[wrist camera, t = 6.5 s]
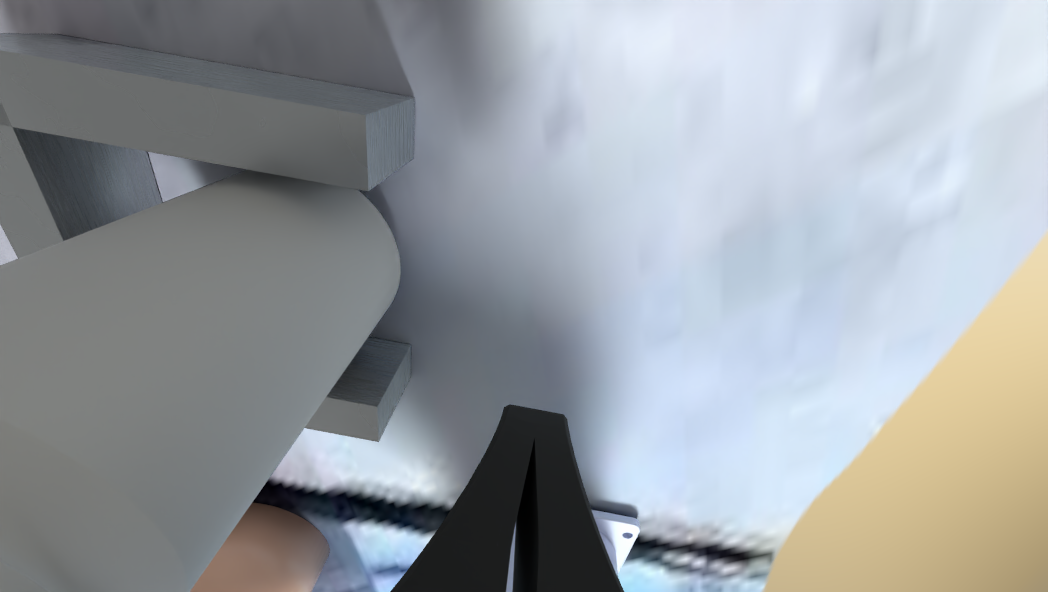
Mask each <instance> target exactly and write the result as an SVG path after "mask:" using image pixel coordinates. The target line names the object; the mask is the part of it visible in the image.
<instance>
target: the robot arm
mask: <svg viewBox="0 0 1048 592" xmlns="http://www.w3.org/2000/svg"><path fill="white" fill-rule="evenodd" d="M639 532H640V522H639V521H638V520H637V519H636V518H633V517H628V516H623V515H617V514H612V513H607V512H602V511H596V510H591V507H590V504H589V501H588V498H587V495H586V492H585V489H584V486H583V483H582V480H581V476H580V473H579V470H578V466H577V462H576V459H575V455H574V451H573V447H572V443H571V438H570V434H569V428H568V422H567V419H566V417H565V416H564V415H563V414H558V413H552V412H547V411H542V410H536V409H531V408H526V407H520V406H515V405H508V406H506V407H504V410H503V414H502V417H501V420H500V422H499V425H498V427H497V430H496V432H495V434H494V436H493V439H492V441H491V443H490V445H489V447H488V449H487V451H486V453H485V455H484V456H483V458H482V460H481V462H480V463H479V465H478V467H477V469H476V470H475V472H474V474H473V476H472V477H471V479H470V481H469V483H468V484H467V486H466V488H465V489H464V491H463V492H462V494H461V495H460V497H459V498H458V500H457V501H456V503H455V504H454V506H453V508H452V509H451V511H450V512H449V514H448V515H447V517H446V518H445V520H444V521H443V523H442V524H441V526H440V527H439V528H438V530H437V531H436V533H435V534H434V536H433V537H432V538H431V540H430V541H429V542H428V544H427V545H426V547H425V548H424V549H423V551H422V552H421V553H420V555H419V556H418V557H417V559H416V560H415V561H414V563H413V564H412V565H411V567H410V568H409V569H408V570H407V572H406V573H405V574H404V576H403V577H402V578H401V579H400V581H399V582H398V583H397V584H396V585H395V587H394V588H393V589H392V590H391V592H624V591H623V588H622V586H621V584H620V581H619V579H618V573H619V571H620V569H621V567H622V565H623V563H624V561H625V559H626V558H627V556H628V554H629V552H630V550H631V548H632V546H633V544H634V542H635V540H636V538H637V536H638V534H639Z"/></svg>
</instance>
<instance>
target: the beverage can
mask: <svg viewBox="0 0 1048 592" xmlns="http://www.w3.org/2000/svg"><path fill="white" fill-rule="evenodd" d="M400 276H401V265H400V256H399V252H398V247H397V244H396V241H395V239H394V236H393V234H392V232H391V230H390V228H389V226H388V224H387V223H386V221H385V220H384V218H383V217H382V215H381V214H380V212H379V211H378V210H377V209H376V207H375V206H374V205H373V204H372V203H371V202H370V201H369V200H368V199H367V198H366V197H365V196H364V195H363V194H362V193H361V192H360V191H358V190H357V189H352V188H347V187H341V186H336V185H330V184H325V183H319V182H314V181H308V180H302V179H297V178H291V177H286V176H280V175H275V174H269V173H264V172H258V171H253V170H246V171H243V172H240V173H238V174H235V175H233V176H230V177H228V178H225V179H222V180H220V181H217V182H215V183H212V184H210V185H207V186H204V187H202V188H199V189H197V190H194V191H191V192H189V193H186V194H184V195H181V196H179V197H176V198H173V199H171V200H168V201H166V202H163V203H160V204H158V205H155V206H153V207H150V208H148V209H145V210H142V211H140V212H137V213H135V214H132V215H130V216H127V217H124V218H122V219H119V220H117V221H114V222H111V223H109V224H106V225H104V226H101V227H99V228H96V229H93V230H91V231H88V232H86V233H83V234H80V235H78V236H75V237H73V238H70V239H68V240H65V241H62V242H60V243H57V244H55V245H52V246H50V247H47V248H44V249H42V250H39V251H37V252H34V253H31V254H29V255H26V256H24V257H21V258H19V259H16V260H13V261H11V262H8V263H6V264H3V265H0V592H190V591H191V589H192V588H193V586H194V585H195V583H196V582H197V581H198V579H199V578H200V576H201V575H202V573H203V572H204V571H205V569H206V568H207V566H208V565H209V563H210V562H211V561H212V559H213V558H214V556H215V555H216V554H217V552H218V551H219V549H220V548H221V546H222V545H223V544H224V542H225V541H226V539H227V538H228V536H229V535H230V534H231V532H232V531H233V529H234V528H235V526H236V525H237V524H238V522H239V521H240V519H241V518H242V516H243V515H244V514H245V512H246V511H247V509H248V508H249V506H250V505H251V504H252V502H253V501H254V499H255V498H256V496H257V495H258V494H259V492H260V491H261V489H262V488H263V486H264V485H265V484H266V482H267V481H268V479H269V478H270V476H271V475H272V474H273V472H274V471H275V469H276V468H277V466H278V465H279V464H280V462H281V461H282V459H283V458H284V456H285V455H286V454H287V452H288V451H289V449H290V448H291V446H292V445H293V444H294V442H295V441H296V439H297V438H298V436H299V435H300V434H301V432H302V431H303V429H304V428H305V426H306V425H307V424H308V422H309V421H310V419H311V418H312V416H313V415H314V414H315V412H316V411H317V409H318V408H319V406H320V405H321V404H322V402H323V401H324V399H325V398H326V396H327V395H328V394H329V392H330V391H331V389H332V388H333V386H334V385H335V384H336V382H337V381H338V379H339V378H340V376H341V375H342V374H343V372H344V371H345V369H346V368H347V366H348V365H349V364H350V362H351V361H352V359H353V358H354V356H355V355H356V354H357V352H358V351H359V349H360V348H361V346H362V345H363V344H364V342H365V341H366V339H367V338H368V336H369V335H370V334H371V332H372V331H373V329H374V328H375V326H376V325H377V324H378V322H379V321H380V319H381V318H382V316H383V315H384V314H385V312H386V311H387V309H388V308H389V306H390V305H391V303H392V302H393V300H394V298H395V296H396V293H397V290H398V287H399V283H400Z"/></svg>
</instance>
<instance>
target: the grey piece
mask: <svg viewBox="0 0 1048 592" xmlns="http://www.w3.org/2000/svg"><path fill="white" fill-rule="evenodd" d="M414 102H415V98H414V97H409V96H403V95H398V94H392V93H386V92H381V91H375V90H369V89H364V88H358V87H353V86H347V85H341V84H336V83H330V82H324V81H319V80H313V79H308V78H302V77H296V76H291V75H285V74H279V73H274V72H268V71H262V70H257V69H251V68H246V67H240V66H234V65H229V64H223V63H217V62H212V61H206V60H201V59H195V58H189V57H184V56H178V55H172V54H167V53H161V52H156V51H150V50H144V49H139V48H133V47H127V46H122V45H116V44H111V43H105V42H99V41H94V40H88V39H82V38H77V37H71V36H65V35H60V34H19V33H0V224H1V226H2V228H3V230H4V232H5V234H6V236H7V238H8V240H9V242H10V244H11V246H12V247H13V249H14V251H15V253H16V255H17V257H18V259H19V258H21V257H24V256H26V255H29V254H31V253H34V252H37V251H39V250H42V249H44V248H47V247H50V246H52V245H55V244H57V243H60V242H62V241H65V240H68V239H70V238H73V237H75V236H78V235H80V234H83V233H86V232H88V231H91V230H93V229H96V228H99V227H101V226H104V225H106V224H109V223H111V222H114V221H117V220H119V219H122V218H124V217H127V216H130V215H132V214H135V213H137V212H140V211H142V210H145V209H148V208H150V207H153V206H155V205H158V204H160V203H162V200H161V197H160V194H159V190H158V187H157V184H156V180H155V177H154V174H153V171H152V167H151V164H150V161H149V157H148V154H147V151H148V152H153V153H159V154H164V155H170V156H175V157H181V158H186V159H192V160H197V161H203V162H208V163H214V164H219V165H225V166H231V167H236V168H242V169H247V170H253V171H258V172H264V173H269V174H275V175H280V176H286V177H291V178H297V179H302V180H308V181H314V182H319V183H325V184H330V185H336V186H341V187H347V188H352V189H358V190H363V191H370V190H371V189H373V188H374V187H375V186H377V185H378V184H379V183H381V182H382V181H383V180H385V179H386V178H388V177H389V176H390V175H392V174H393V173H394V172H396V171H397V170H399V169H400V168H401V167H403V166H404V165H405V164H407V163H408V162H409V161H411V160H412V159H414ZM410 375H411V345H409V344H404V343H399V342H393V341H388V340H382V339H377V338H372V337H368V338H367V339H366V341H365V342H364V344H363V345H362V346H361V348H360V349H359V351H358V352H357V354H356V355H355V356H354V358H353V359H352V361H351V362H350V364H349V365H348V366H347V368H346V369H345V371H344V372H343V374H342V375H341V376H340V378H339V379H338V381H337V382H336V384H335V385H334V386H333V388H332V389H331V391H330V392H329V394H328V395H327V396H326V398H325V399H324V401H323V402H322V404H321V405H320V406H319V408H318V409H317V411H316V412H315V414H314V415H313V416H312V418H311V419H310V421H309V422H308V424H307V425H306V426H305V428H307V429H313V430H318V431H323V432H329V433H334V434H339V435H345V436H350V437H355V438H361V439H366V440H371V441H377V442H379V440H380V438H381V436H382V434H383V432H384V430H385V428H386V426H387V424H388V422H389V420H390V418H391V416H392V414H393V412H394V410H395V408H396V406H397V404H398V402H399V400H400V398H401V396H402V394H403V392H404V390H405V387H406V385H407V383H408V381H409V379H410Z"/></svg>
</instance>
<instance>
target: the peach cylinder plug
mask: <svg viewBox="0 0 1048 592" xmlns="http://www.w3.org/2000/svg"><path fill="white" fill-rule="evenodd" d="M329 553H330V548H329V544H328V542H327V540H326V539H325V537H324V536H323V534H322V533H321V532H320V531H319V530H318V529H317V528H316V527H314V526H313V525H312V524H311V523H309V522H308V521H306V520H305V519H303V518H301V517H299V516H297V515H296V514H293V513H291V512H289V511H286V510H284V509H281V508H278V507H275V506H271V505H266V504H260V503H252V504H251V505H250V506H249V508H248V509H247V511H246V512H245V514H244V515H243V516H242V518H241V519H240V521H239V522H238V524H237V525H236V526H235V528H234V529H233V531H232V532H231V534H230V535H229V536H228V538H227V539H226V541H225V542H224V544H223V545H222V546H221V548H220V549H219V551H218V552H217V554H216V555H215V556H214V558H213V559H212V561H211V562H210V563H209V565H208V566H207V568H206V569H205V571H204V572H203V573H202V575H201V576H200V578H199V579H198V581H197V582H196V583H195V585H194V586H193V588H192V589H191V591H190V592H312V589H313V587H314V585H315V583H316V581H317V579H318V577H319V575H320V573H321V571H322V569H323V567H324V565H325V563H326V560H327V558H328V556H329Z"/></svg>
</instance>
